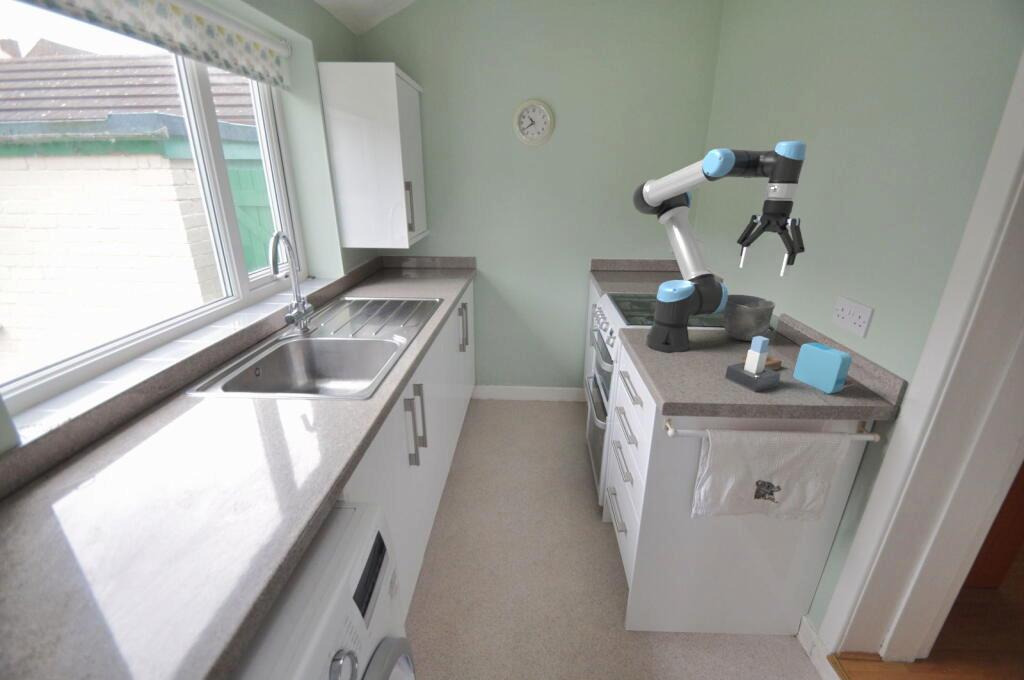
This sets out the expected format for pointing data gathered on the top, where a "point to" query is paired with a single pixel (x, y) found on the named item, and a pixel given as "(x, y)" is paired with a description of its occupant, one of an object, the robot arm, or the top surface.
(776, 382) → the port
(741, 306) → the grey metal pot
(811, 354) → the data package
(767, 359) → the frame
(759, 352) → the plug
